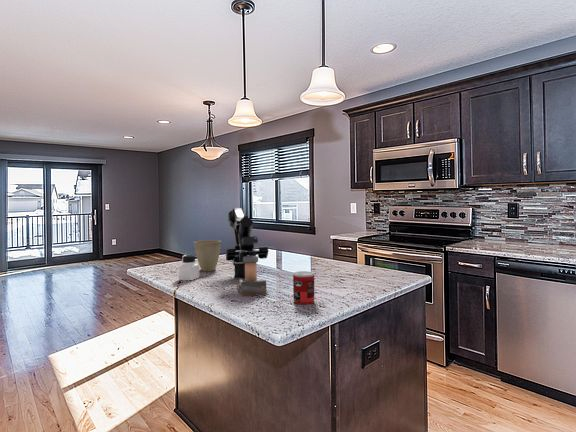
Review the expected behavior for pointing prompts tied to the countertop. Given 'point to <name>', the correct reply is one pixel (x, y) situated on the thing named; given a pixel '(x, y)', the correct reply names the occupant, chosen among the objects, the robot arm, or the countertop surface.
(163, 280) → the countertop surface
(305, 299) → the canned food
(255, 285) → the mount
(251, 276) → the orange jar
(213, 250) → the plant pot
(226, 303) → the countertop surface
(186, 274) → the medicine bottle
